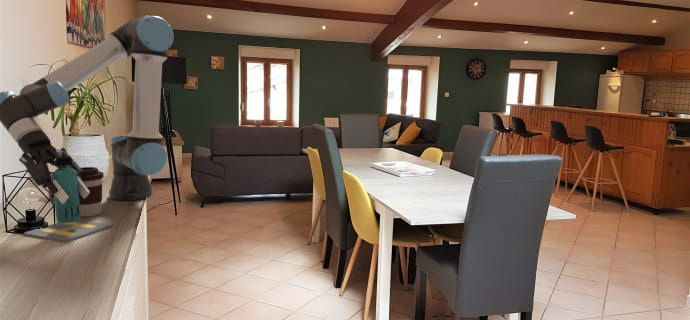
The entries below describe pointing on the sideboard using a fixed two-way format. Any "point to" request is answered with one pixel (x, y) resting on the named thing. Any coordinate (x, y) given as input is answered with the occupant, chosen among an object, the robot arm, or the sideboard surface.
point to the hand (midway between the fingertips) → (76, 197)
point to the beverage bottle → (67, 192)
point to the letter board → (68, 230)
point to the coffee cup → (91, 192)
